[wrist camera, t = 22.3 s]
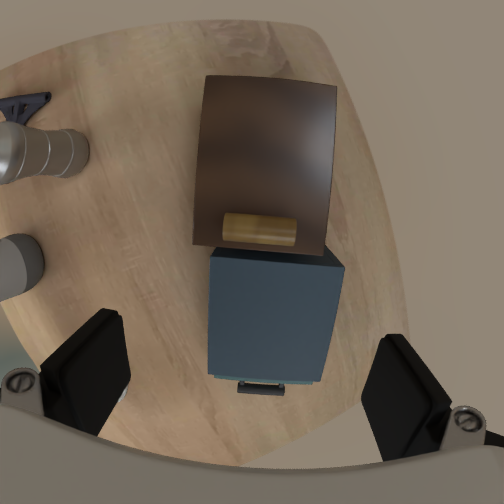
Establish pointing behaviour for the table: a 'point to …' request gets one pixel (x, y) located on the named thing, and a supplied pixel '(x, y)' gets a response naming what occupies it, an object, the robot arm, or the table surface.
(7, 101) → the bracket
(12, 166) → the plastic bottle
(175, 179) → the table surface
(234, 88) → the lid
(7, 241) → the smart speaker
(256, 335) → the cabinet
